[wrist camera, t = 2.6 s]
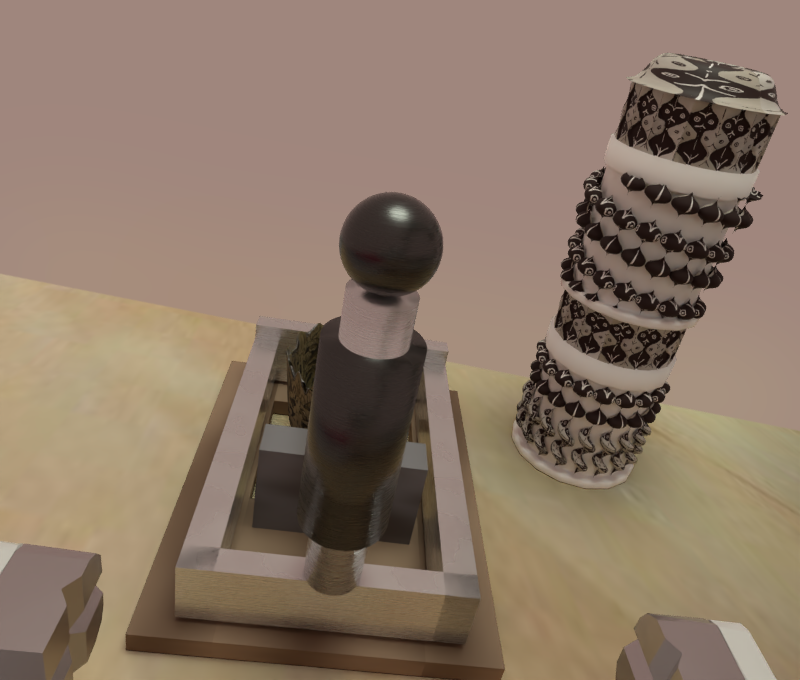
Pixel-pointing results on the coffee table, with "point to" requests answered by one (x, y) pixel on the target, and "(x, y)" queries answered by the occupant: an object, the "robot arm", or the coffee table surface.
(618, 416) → the decorative candle
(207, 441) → the base
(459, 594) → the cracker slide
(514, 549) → the coffee table surface
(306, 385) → the cup
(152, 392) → the coffee table surface
